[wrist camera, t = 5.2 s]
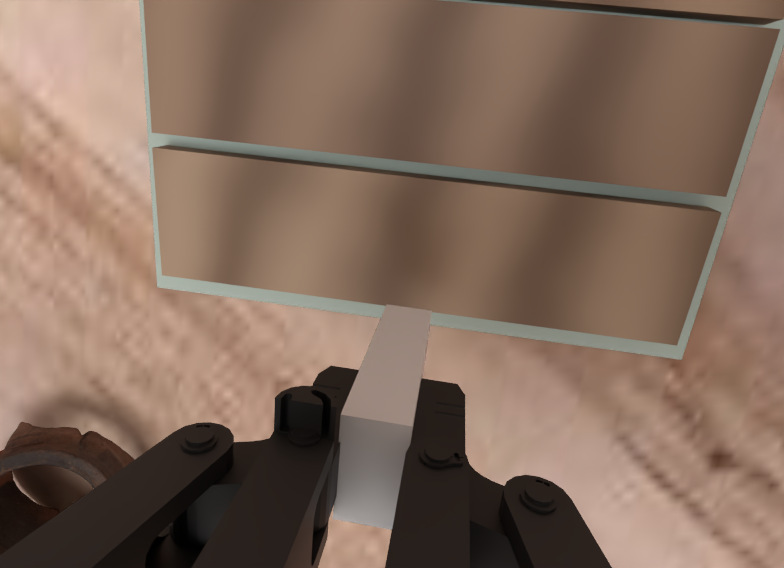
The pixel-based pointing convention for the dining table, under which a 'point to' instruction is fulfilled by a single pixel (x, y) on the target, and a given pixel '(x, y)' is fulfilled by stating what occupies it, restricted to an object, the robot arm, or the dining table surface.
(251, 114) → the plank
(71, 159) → the dining table surface
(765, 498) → the dining table surface
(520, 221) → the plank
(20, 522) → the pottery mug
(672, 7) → the laid strip
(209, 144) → the underlay mat
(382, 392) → the robot arm
